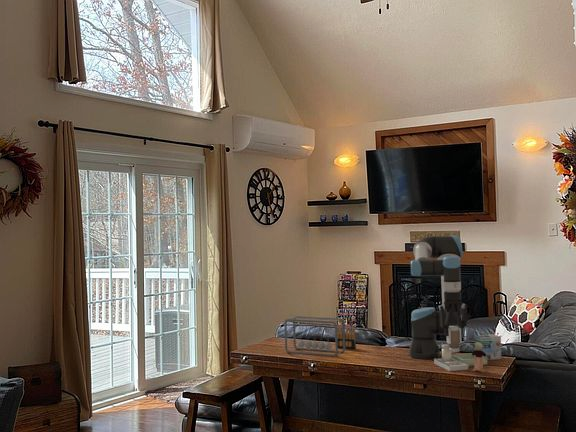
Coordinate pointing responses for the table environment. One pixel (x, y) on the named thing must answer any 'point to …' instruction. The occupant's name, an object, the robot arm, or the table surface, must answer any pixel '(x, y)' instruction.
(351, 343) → the ammunition clip
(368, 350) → the table surface
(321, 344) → the newton's cradle
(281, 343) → the table surface
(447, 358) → the fuse
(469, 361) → the parts tray
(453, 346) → the white and tan cylinder
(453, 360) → the white flat frame
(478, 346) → the grandmother figurine
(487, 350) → the light bulb box
